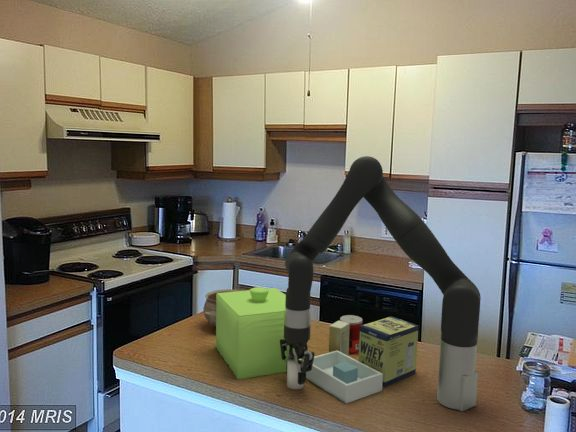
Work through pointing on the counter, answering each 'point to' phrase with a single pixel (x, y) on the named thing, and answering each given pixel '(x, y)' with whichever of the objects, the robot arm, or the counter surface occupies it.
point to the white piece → (293, 374)
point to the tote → (323, 377)
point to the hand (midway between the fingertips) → (295, 379)
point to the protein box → (389, 348)
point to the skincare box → (339, 337)
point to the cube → (345, 372)
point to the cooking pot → (213, 305)
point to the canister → (251, 331)
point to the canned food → (353, 332)
